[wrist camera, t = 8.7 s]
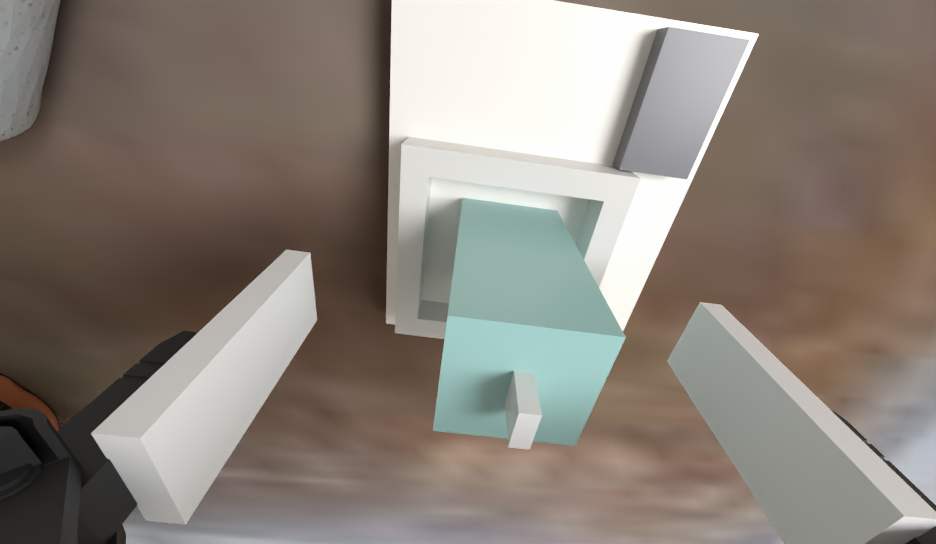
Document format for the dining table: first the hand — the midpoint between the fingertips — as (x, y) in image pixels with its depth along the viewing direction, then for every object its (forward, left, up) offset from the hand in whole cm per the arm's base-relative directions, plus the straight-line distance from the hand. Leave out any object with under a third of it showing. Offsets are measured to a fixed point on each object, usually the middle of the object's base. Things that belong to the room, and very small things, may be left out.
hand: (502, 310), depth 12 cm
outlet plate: (+2, -1, -5) cm, 6 cm away
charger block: (0, 0, -4) cm, 4 cm away
